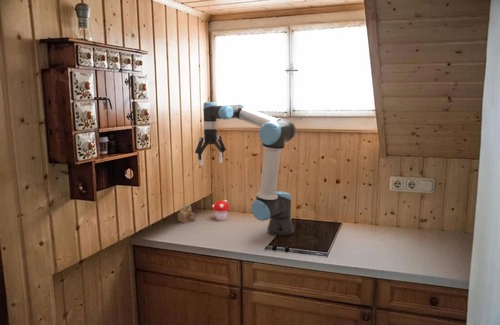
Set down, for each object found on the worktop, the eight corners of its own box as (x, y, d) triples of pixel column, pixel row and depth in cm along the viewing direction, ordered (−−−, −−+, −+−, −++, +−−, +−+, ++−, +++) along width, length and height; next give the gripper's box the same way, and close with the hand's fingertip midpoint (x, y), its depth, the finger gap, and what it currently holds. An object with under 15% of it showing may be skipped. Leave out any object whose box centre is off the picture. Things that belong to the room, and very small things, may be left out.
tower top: (187, 211, 271) (187, 204, 270) (191, 213, 267) (191, 205, 266) (180, 213, 268) (180, 205, 267) (184, 215, 264) (183, 207, 263)
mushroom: (217, 222, 265) (216, 203, 263) (209, 217, 274) (209, 199, 272) (232, 219, 270) (232, 201, 268) (224, 215, 279) (224, 197, 277)
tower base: (188, 218, 274) (188, 211, 273) (194, 221, 268) (194, 213, 267) (178, 220, 269) (177, 213, 268) (184, 223, 263) (184, 215, 262)
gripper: (224, 126, 264) (224, 160, 268) (188, 129, 249) (189, 165, 253) (231, 127, 259) (231, 162, 262) (195, 130, 244) (196, 167, 247)
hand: (211, 163), depth 257 cm, fingers open, 13 cm apart
